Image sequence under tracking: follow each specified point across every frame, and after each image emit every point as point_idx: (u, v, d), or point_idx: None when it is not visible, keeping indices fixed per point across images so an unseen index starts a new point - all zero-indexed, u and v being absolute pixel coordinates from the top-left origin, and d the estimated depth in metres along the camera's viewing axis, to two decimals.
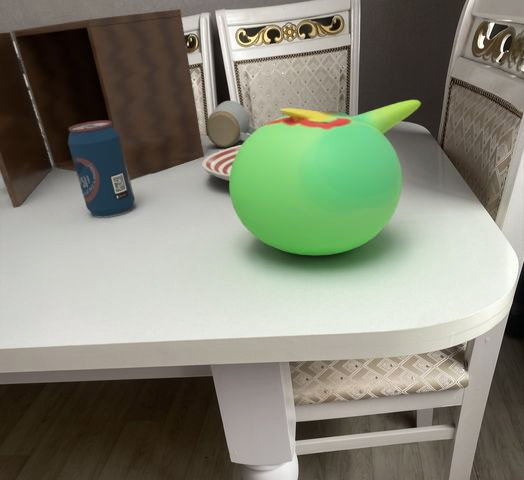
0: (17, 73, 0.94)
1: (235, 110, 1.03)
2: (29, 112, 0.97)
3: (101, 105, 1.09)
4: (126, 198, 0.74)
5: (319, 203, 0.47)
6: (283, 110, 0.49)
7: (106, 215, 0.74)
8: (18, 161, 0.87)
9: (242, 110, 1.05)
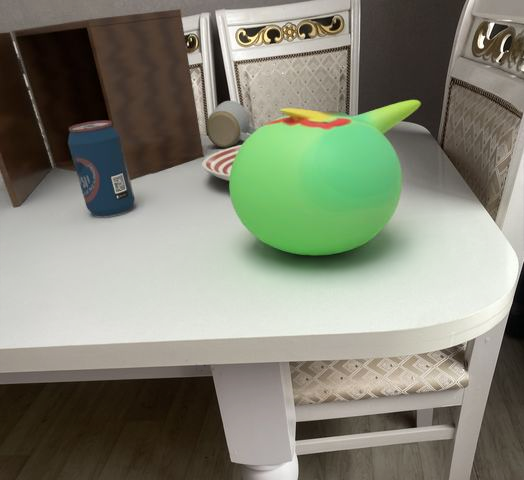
0: (17, 73, 0.94)
1: (235, 110, 1.03)
2: (29, 112, 0.97)
3: (101, 105, 1.09)
4: (126, 198, 0.74)
5: (319, 203, 0.47)
6: (283, 110, 0.49)
7: (106, 215, 0.74)
8: (18, 161, 0.87)
9: (242, 110, 1.05)
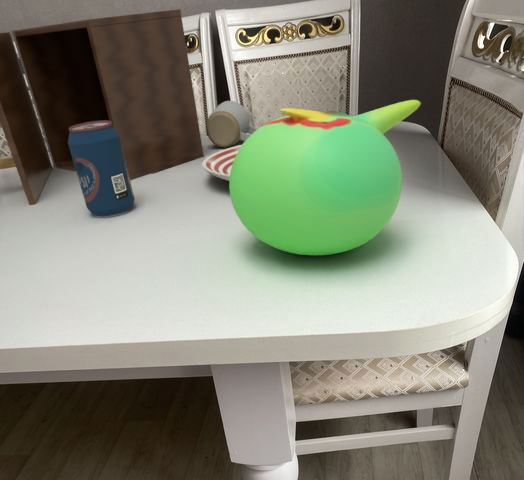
0: (19, 73, 0.94)
1: (235, 110, 1.03)
2: (31, 112, 0.97)
3: (101, 105, 1.09)
4: (126, 198, 0.74)
5: (319, 203, 0.47)
6: (283, 110, 0.49)
7: (106, 215, 0.74)
8: (30, 160, 0.88)
9: (242, 110, 1.05)
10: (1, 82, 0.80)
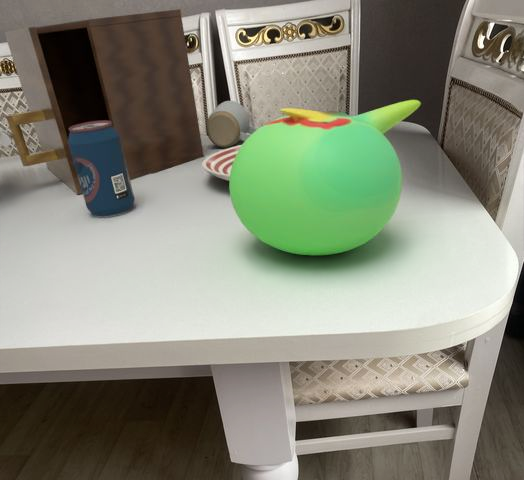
0: None
1: (235, 110, 1.03)
2: None
3: (101, 105, 1.09)
4: (126, 198, 0.74)
5: (319, 203, 0.47)
6: (283, 110, 0.49)
7: (106, 215, 0.74)
8: None
9: (242, 110, 1.05)
10: None
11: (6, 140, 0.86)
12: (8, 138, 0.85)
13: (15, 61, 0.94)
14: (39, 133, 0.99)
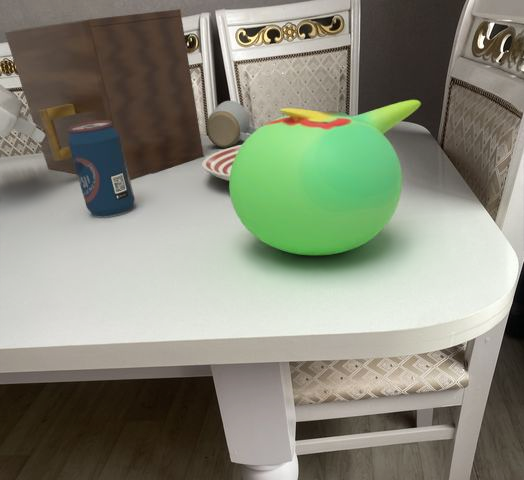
0: None
1: (235, 110, 1.03)
2: None
3: None
4: (126, 198, 0.74)
5: (319, 203, 0.47)
6: (283, 110, 0.49)
7: (106, 215, 0.74)
8: None
9: (242, 110, 1.05)
10: None
11: (40, 135, 0.86)
12: (42, 133, 0.86)
13: (20, 60, 0.94)
14: (46, 132, 1.00)
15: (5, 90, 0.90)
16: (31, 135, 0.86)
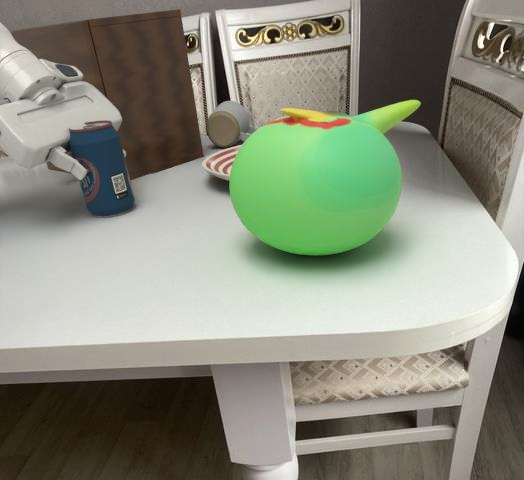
0: None
1: (235, 110, 1.03)
2: None
3: None
4: (126, 198, 0.74)
5: (319, 203, 0.47)
6: (283, 110, 0.49)
7: (107, 215, 0.74)
8: None
9: (242, 110, 1.05)
10: None
11: (79, 172, 0.70)
12: (81, 170, 0.69)
13: None
14: None
15: (104, 102, 0.78)
16: (71, 170, 0.70)
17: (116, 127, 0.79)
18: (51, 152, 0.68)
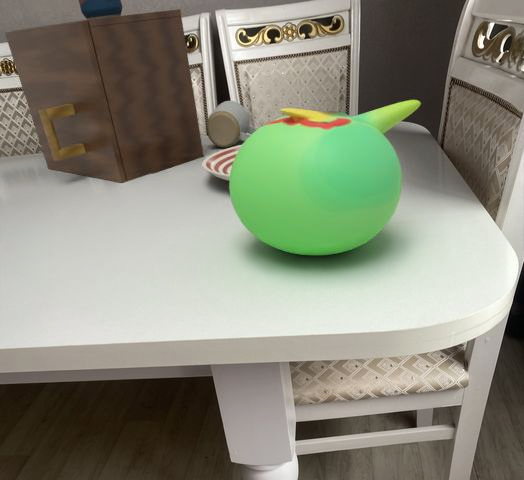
0: None
1: (235, 110, 1.03)
2: None
3: None
4: (115, 1, 0.88)
5: (319, 203, 0.47)
6: (283, 110, 0.49)
7: (98, 15, 0.88)
8: None
9: (242, 110, 1.05)
10: None
11: None
12: None
13: (20, 60, 0.94)
14: None
15: None
16: None
17: None
18: None
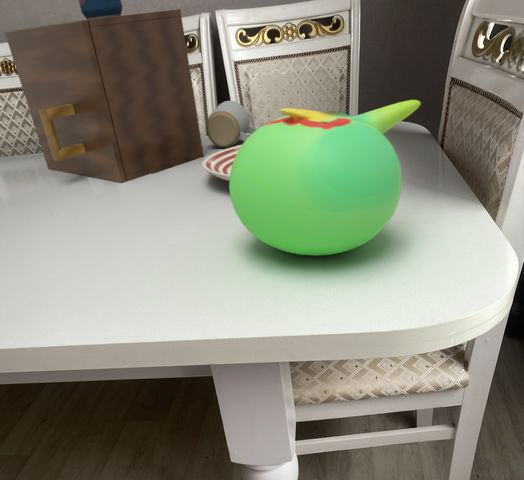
0: None
1: (235, 110, 1.03)
2: None
3: None
4: (115, 1, 0.88)
5: (319, 203, 0.47)
6: (283, 110, 0.49)
7: (98, 15, 0.88)
8: None
9: (242, 110, 1.05)
10: None
11: None
12: None
13: (20, 60, 0.94)
14: None
15: None
16: None
17: None
18: None
